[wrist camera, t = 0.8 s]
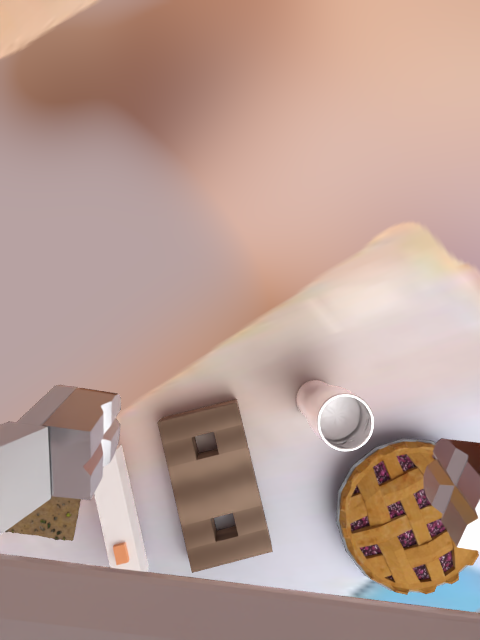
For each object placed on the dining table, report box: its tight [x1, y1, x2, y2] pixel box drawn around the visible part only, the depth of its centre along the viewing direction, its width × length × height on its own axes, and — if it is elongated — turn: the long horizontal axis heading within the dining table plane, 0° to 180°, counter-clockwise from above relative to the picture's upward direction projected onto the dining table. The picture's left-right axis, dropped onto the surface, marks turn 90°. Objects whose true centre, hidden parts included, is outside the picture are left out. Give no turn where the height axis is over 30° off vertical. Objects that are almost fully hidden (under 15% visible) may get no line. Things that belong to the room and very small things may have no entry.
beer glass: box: [296, 380, 374, 451], centre depth 47 cm, size 7×7×15 cm
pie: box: [336, 438, 479, 595], centre depth 51 cm, size 22×22×5 cm
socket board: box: [158, 399, 273, 573], centre depth 52 cm, size 22×12×3 cm, turn 14°
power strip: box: [94, 445, 149, 572], centre depth 50 cm, size 18×4×6 cm, turn 14°
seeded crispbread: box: [5, 496, 81, 541], centre depth 53 cm, size 12×12×1 cm
